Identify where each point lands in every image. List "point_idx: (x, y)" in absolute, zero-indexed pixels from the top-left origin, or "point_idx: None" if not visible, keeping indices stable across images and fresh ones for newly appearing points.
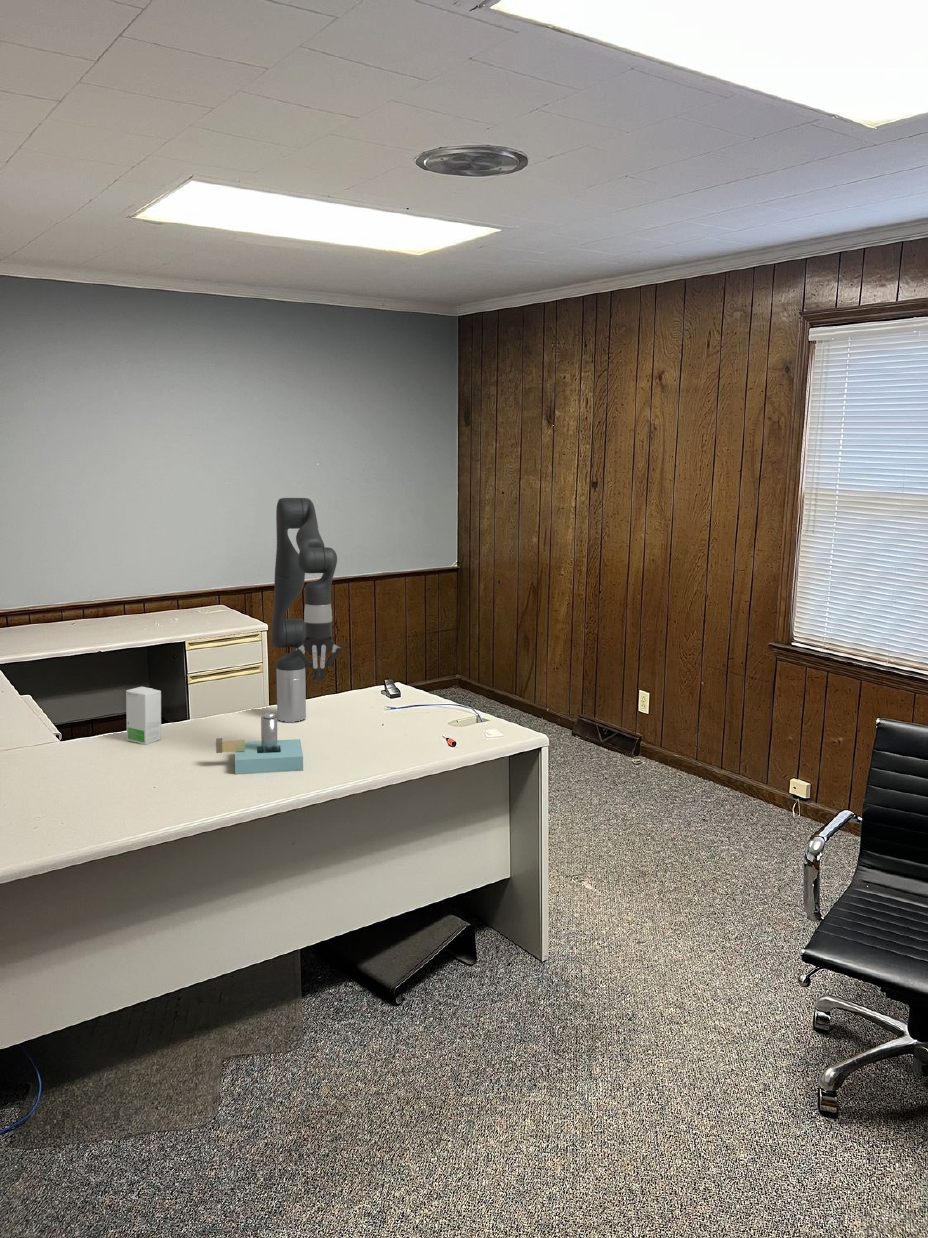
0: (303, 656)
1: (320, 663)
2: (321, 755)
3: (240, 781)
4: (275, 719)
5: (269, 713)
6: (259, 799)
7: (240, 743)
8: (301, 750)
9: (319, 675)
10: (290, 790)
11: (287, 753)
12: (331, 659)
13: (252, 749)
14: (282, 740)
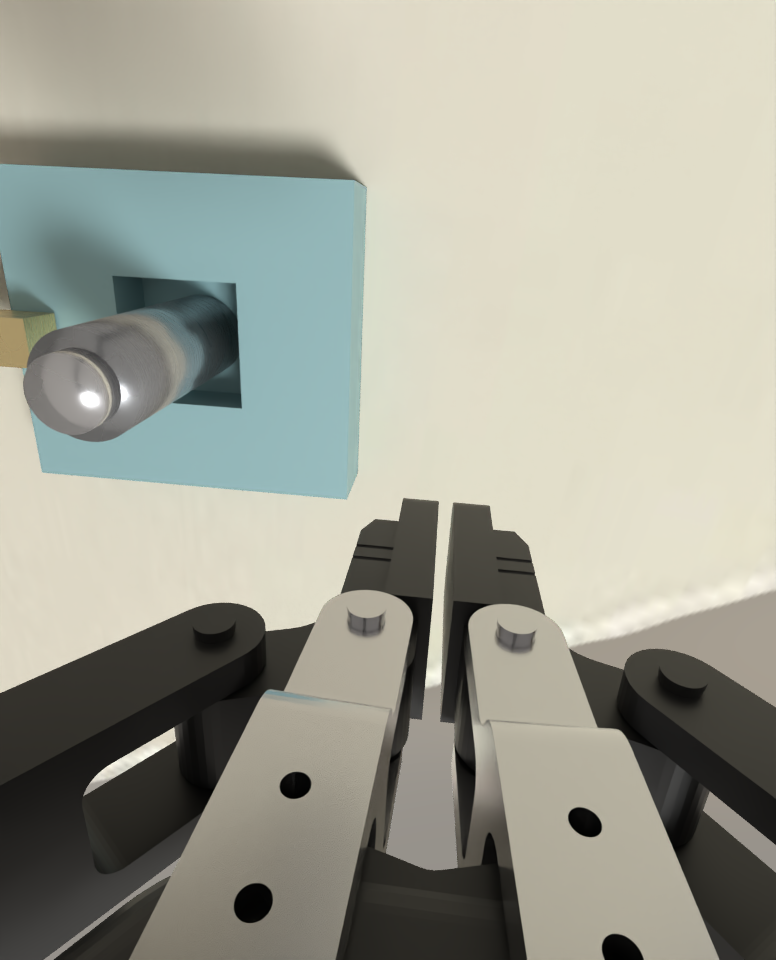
0: (2, 953)
1: (457, 820)
2: (472, 267)
3: (114, 529)
4: (131, 425)
5: (65, 386)
6: None
7: (12, 365)
8: (345, 407)
9: (446, 606)
10: None
11: (274, 437)
12: (737, 944)
13: None
14: (247, 184)
